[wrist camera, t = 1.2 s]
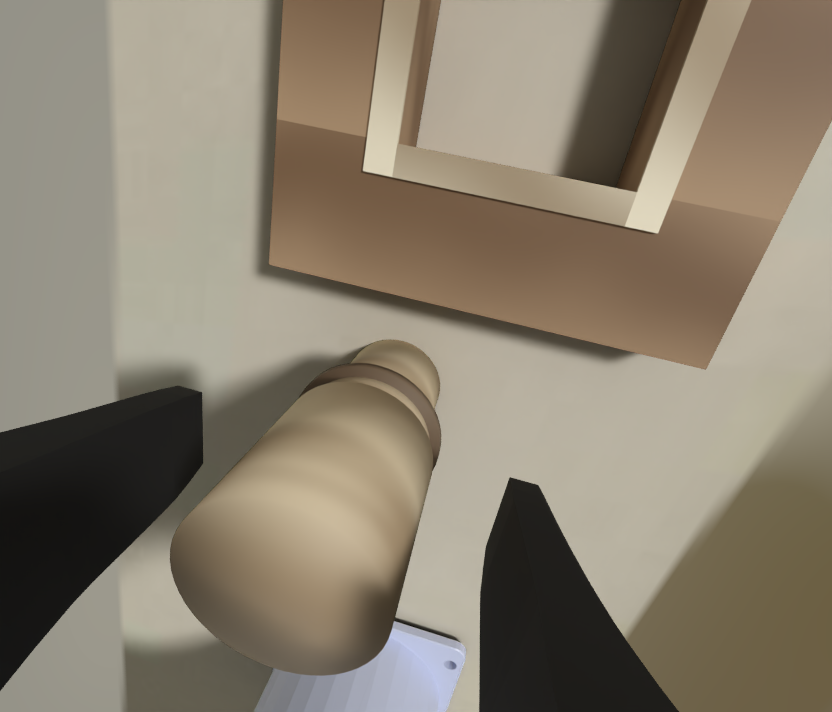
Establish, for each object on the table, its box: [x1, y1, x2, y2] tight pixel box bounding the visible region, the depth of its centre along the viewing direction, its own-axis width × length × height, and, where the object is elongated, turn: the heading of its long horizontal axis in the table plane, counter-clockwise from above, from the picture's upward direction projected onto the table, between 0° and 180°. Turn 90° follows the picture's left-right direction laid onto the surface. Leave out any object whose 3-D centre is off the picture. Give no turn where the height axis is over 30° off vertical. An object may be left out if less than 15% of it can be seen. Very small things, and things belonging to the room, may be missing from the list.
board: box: [269, 0, 832, 369], centre depth 9 cm, size 12×11×2 cm
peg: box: [170, 340, 441, 676], centre depth 11 cm, size 4×4×8 cm
